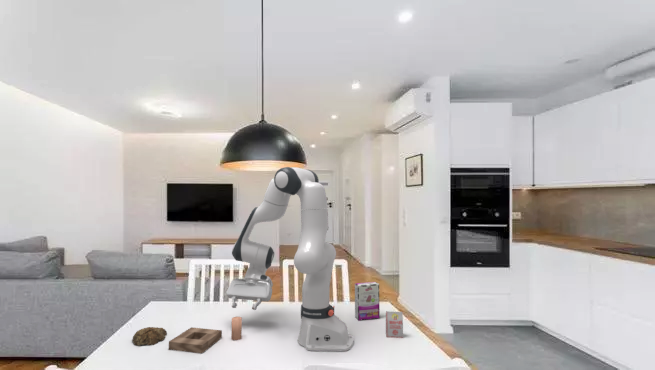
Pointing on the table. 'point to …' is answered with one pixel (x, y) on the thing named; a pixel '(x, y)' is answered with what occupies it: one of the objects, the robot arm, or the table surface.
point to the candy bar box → (367, 301)
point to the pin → (236, 328)
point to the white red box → (394, 324)
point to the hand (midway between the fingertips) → (243, 308)
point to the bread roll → (149, 336)
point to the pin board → (195, 340)
